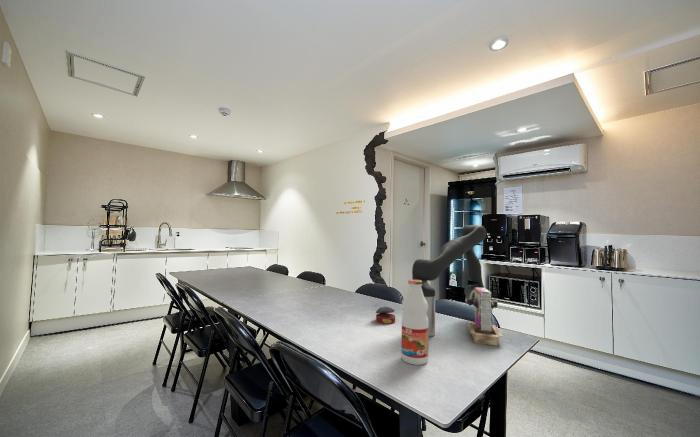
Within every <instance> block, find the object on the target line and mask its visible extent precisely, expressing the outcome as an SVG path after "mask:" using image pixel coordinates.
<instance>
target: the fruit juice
mask: <svg viewBox="0 0 700 437" xmlns="http://www.w3.org/2000/svg"><path fill="white" fill-rule="evenodd" d="M421 286H422V281H421V280H413V279H408V289H407V292H406V295H405V297H404V299H403V300H402V304H401V306H402V311H403V312H402V313H403V314H402V317H401V349H400V350H401V352H400V353H401V354H400V355H401V359H402V360H403V361H404V362H405V363H407V364H410V365H412V366H415V365H416V366H423V365H425V364H427V363H428V362H429V337H428V327H429V324H428V317H427V311H428V303H427V301H426V299H425V297H424V295H423V292H422V288H421Z"/></svg>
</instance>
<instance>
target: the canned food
mask: <svg viewBox="0 0 700 437" xmlns="http://www.w3.org/2000/svg"><path fill="white" fill-rule="evenodd" d="M375 313H376V314H375V321H376V323H378V324H382V325H393V324H395V323H396V315H394V313H395V309H393V308H392V307H389V306H383V307H379V308H378V309H377V310H376V311H375Z"/></svg>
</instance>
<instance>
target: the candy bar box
mask: <svg viewBox="0 0 700 437" xmlns="http://www.w3.org/2000/svg"><path fill="white" fill-rule="evenodd" d="M474 289H475V299H476V301H477V302H478V308H476V307H475V306H474V322H475V323H476V325H477V326H478V327H479V329H480V330H481V331H492V325H493V309H492V301H493V300H492V296H493V294H492V292H491V291H490V290H489V289H487V288H486V287H484V288H478V287H475V288H474Z"/></svg>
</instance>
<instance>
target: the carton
mask: <svg viewBox="0 0 700 437" xmlns="http://www.w3.org/2000/svg"><path fill="white" fill-rule="evenodd" d="M467 326H468V330H469V333H470V334H471V336H472V339H473V342H474V343H475V344H483V345H490V346H497V347H498V346H499V338H503V335H502V333H501V331H500V330H499V328H498V327H497V326H496V324H495V325H494V324H492V331H481V330H480V329H479V327H478V326H477V325H476V323H475V321H474V322H473V321H470V322H467Z"/></svg>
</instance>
